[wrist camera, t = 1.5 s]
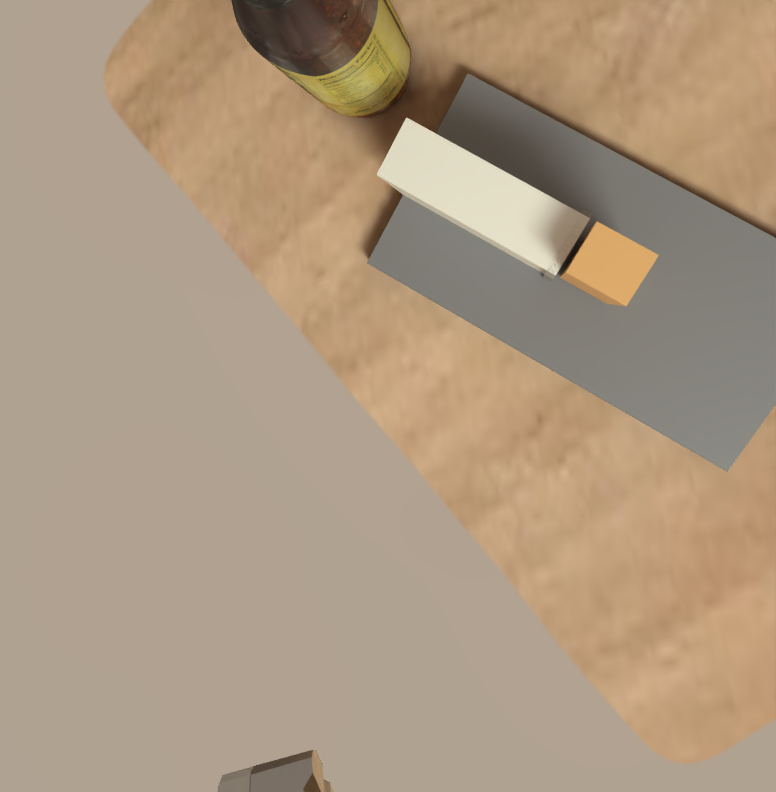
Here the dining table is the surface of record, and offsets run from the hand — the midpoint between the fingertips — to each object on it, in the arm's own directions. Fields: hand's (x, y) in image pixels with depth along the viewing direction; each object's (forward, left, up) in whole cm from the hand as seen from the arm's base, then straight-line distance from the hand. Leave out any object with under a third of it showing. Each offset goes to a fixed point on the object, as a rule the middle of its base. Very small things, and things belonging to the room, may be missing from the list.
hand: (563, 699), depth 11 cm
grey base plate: (-8, -1, -32) cm, 33 cm away
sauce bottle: (-12, -19, -32) cm, 39 cm away
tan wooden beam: (-8, -2, -30) cm, 31 cm away
